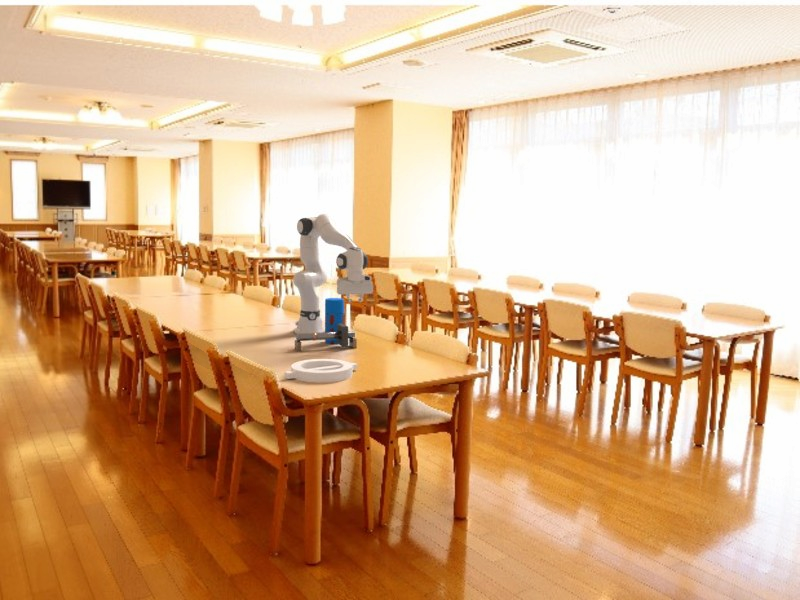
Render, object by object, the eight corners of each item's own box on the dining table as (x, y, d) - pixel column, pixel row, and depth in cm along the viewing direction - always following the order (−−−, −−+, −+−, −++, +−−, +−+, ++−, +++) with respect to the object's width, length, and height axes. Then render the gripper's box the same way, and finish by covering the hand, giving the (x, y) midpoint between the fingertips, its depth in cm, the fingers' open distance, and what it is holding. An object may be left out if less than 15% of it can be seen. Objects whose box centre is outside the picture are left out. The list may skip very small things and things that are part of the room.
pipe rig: (294, 349, 362) (294, 332, 361) (352, 345, 375) (352, 329, 373) (297, 351, 356) (297, 334, 355) (356, 348, 368) (356, 331, 367)
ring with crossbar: (282, 381, 295) (282, 370, 295) (302, 367, 323) (302, 357, 322) (343, 385, 290) (343, 374, 290) (359, 370, 318) (359, 360, 317)
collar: (337, 343, 373) (337, 323, 372) (342, 342, 374) (342, 323, 373) (342, 346, 363) (342, 327, 362) (348, 346, 364) (348, 326, 363)
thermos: (340, 344, 377) (340, 300, 374) (322, 343, 379) (322, 299, 376) (346, 341, 388) (346, 298, 385) (328, 340, 390) (328, 297, 387)
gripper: (338, 278, 360) (338, 303, 361) (374, 277, 367) (374, 302, 369) (335, 276, 365) (335, 301, 367) (370, 276, 373) (370, 300, 375)
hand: (354, 302), depth 368 cm, fingers open, 5 cm apart
